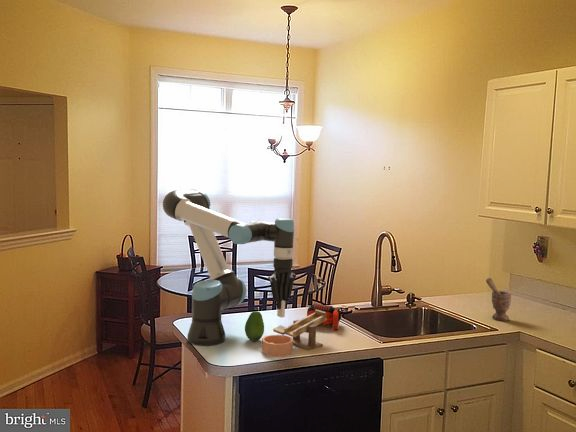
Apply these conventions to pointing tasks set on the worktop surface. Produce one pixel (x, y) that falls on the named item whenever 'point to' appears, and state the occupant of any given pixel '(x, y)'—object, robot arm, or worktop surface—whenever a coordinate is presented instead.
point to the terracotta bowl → (277, 345)
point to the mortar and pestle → (499, 302)
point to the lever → (302, 324)
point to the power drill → (327, 314)
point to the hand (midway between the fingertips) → (280, 316)
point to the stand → (305, 342)
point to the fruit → (254, 326)
